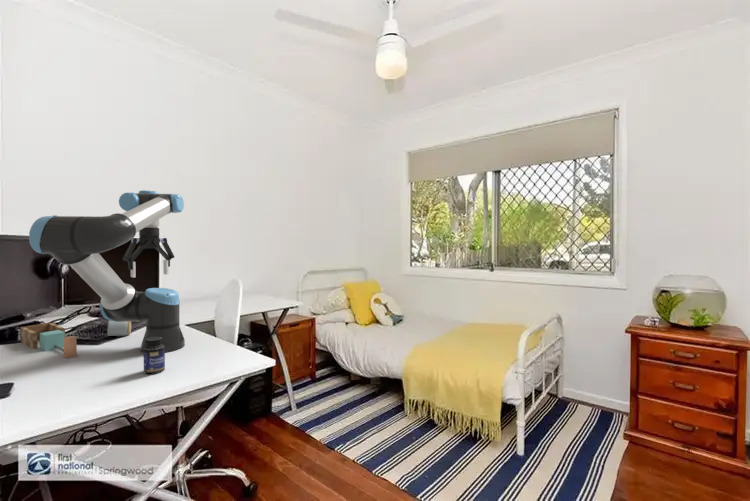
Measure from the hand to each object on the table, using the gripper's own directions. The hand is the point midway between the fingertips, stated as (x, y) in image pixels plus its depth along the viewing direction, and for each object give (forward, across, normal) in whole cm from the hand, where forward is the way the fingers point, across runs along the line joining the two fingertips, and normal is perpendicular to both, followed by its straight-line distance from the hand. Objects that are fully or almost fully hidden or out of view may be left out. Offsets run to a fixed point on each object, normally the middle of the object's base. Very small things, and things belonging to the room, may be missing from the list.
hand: (150, 275), depth 164 cm
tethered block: (+27, +30, -6) cm, 41 cm away
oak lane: (+27, +30, -26) cm, 48 cm away
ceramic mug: (+27, +7, -13) cm, 31 cm away
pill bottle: (+27, +20, +43) cm, 55 cm away
